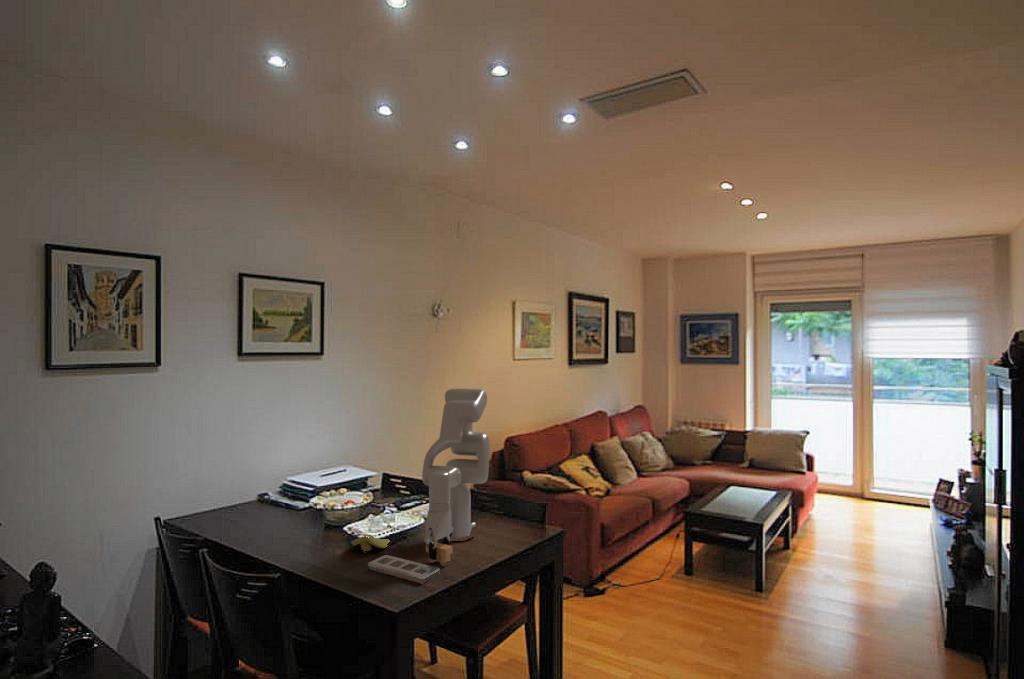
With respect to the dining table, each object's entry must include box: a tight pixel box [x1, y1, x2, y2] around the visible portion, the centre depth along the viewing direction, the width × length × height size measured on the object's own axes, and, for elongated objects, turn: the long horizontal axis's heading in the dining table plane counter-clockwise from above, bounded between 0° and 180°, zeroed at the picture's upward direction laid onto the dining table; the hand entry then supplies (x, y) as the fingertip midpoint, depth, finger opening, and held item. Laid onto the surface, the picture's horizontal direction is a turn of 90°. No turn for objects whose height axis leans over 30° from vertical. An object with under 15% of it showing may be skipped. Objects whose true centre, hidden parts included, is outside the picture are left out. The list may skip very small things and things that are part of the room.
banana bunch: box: [350, 524, 393, 552], centre depth 232 cm, size 20×7×10 cm
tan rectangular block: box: [425, 541, 454, 563], centre depth 215 cm, size 4×9×6 cm, turn 60°
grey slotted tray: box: [367, 554, 440, 579], centre depth 207 cm, size 9×24×2 cm, turn 60°
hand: (439, 555), depth 215 cm, fingers open, 6 cm apart
